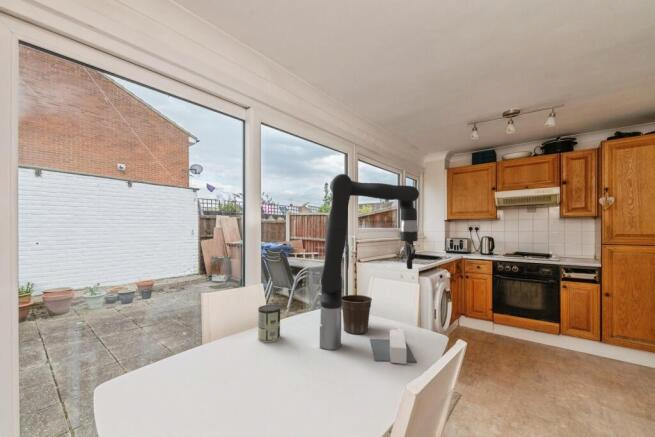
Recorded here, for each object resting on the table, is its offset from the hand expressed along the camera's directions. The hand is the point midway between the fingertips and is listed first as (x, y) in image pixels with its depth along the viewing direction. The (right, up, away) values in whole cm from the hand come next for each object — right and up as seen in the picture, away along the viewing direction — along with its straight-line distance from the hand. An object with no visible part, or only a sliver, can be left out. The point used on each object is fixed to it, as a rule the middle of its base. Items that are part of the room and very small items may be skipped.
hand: (409, 268), depth 128 cm
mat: (-10, -33, -8) cm, 36 cm away
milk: (-10, -30, -21) cm, 37 cm away
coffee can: (-65, -33, +3) cm, 73 cm away
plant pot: (-23, -34, +15) cm, 44 cm away
